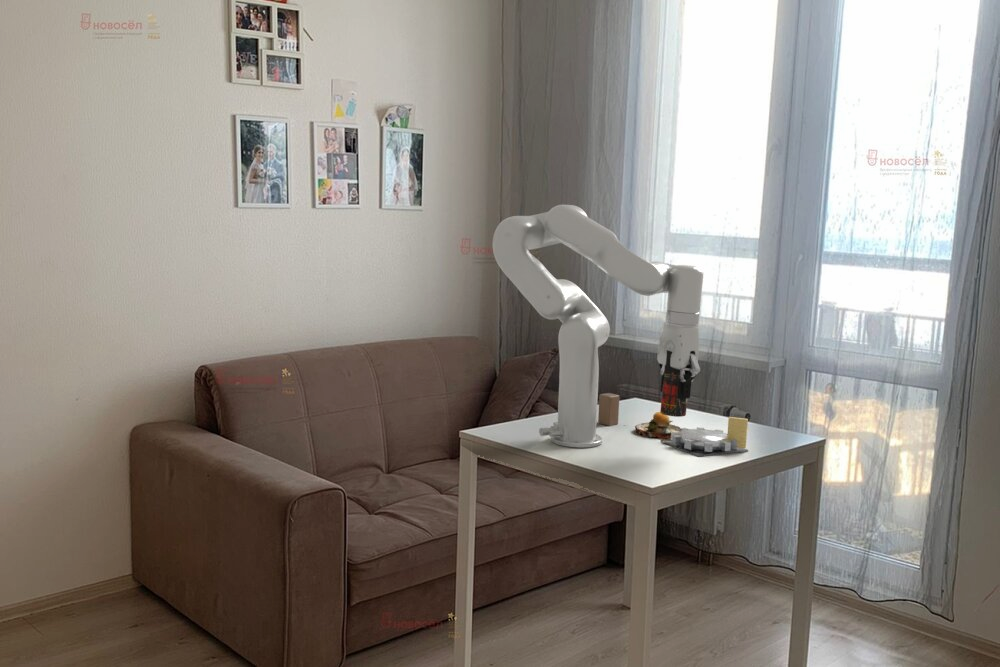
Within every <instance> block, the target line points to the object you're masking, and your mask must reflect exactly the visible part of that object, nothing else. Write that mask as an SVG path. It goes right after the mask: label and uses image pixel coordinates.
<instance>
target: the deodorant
mask: <svg viewBox="0 0 1000 667" xmlns="http://www.w3.org/2000/svg"><path fill="white" fill-rule="evenodd" d="M671 354H672V352H671V351H668V350H667V354H666V355H667V357H666V365H665V369H664V379H663V390H662V392H661V401H660V403H661V404H660V411H659V412H660V413H662V414H664V415H667V416H668V417H679V418H680V417H682V418H683V417H686V415H687V406H688V398H686V399H679V398H677V394H678V384H679V381H681V378H680V370H678V369H674V368H672V367H671V366H670V360H671ZM685 368H689V366H686V367H685ZM687 373H688V371H685V375H686V374H687Z"/></svg>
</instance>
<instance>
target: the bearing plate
mask: <svg viewBox="0 0 1000 667" xmlns="http://www.w3.org/2000/svg"><path fill="white" fill-rule="evenodd" d="M660 442H661V443H664V444H665V445H669V446H671V447H673V448H676V449H678V450H681V451H682V452H685V453H688V454H690V455H692V456H695V457H697V458H701V457H709V456H718V455H719V456H720V455H727V454H728V455H729V454H738V453H745V452H746V453H748V452H749V449H747V448H739V447H737V448H730V451H722V450H712V452H705V451H704V450H701V449H691V450H690V449H685V448H684V446H683V445H674V444H673V443H672V440H671V439H669V438H665V439H660Z"/></svg>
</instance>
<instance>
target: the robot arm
mask: <svg viewBox="0 0 1000 667" xmlns="http://www.w3.org/2000/svg"><path fill="white" fill-rule="evenodd" d="M558 244H563V245H564V246H566V247H568V248H570V249H571V250H572V251H574V252H575V253H577V254H580V255H581V256H582V257H583V258H585V259H587V260H588V261H591V263H593V264H594V265H596V266H597V268H599V269H600V270H602V271H603V272H605V273H606V274H607V275H608V276H610V277H611V278H612V279H614V280H615V281H617V282H619V284H622V285H623V286H625V287H626V288H628V289H630V290H631V291H633V292H635V293H637V294H639V295H641V296H649V297H650V296H655V295H656V294H657V295H659V294H667V293H668V294H667V302H666V304H667V305H666V314H665V321H664V322H663V325H662V327H661V328H662V329H661V332H660V337H659V342H658V348H657V356H656V360H657V362H658V365H659V369H660V375H661V381H660V390H659V391H660V392H661V393H662V390H663V379H664V369H665V365H666V357H667V355H666V354H667V350H668V351H671V352H672V354H671V360H670V366H671V367H672V368H674V369H678V370H680V378H681V381H679V384H678V394H677V398H679V399H686V398H687V399H690V398H691V390H692V382H694V379H695V378H696V377H697V375H698V374H699V373H700V372H701V367H700V364H699V361H698V360H699V353H700V352H699V350H700V332H699V331H700V330H699V322H700V312H701V301H702V292H703V282H704V270H703V269H702V268H701V267H699V266H695V265H687V264H684V265H683V264H677V265H676V264H671V263H665V262H662V261H648V260H646V259H644V258H643V257H641V256H639V255H638V254H636V253H635V252H634V251H633V252H632V251H631V250H630V249H628V248H627V247H626V246H624V245H623V244H622V243H621V242H620V241H619V239H618V237H617V235H616V234H615V233H614V232H613V231H612V230H611V229H609V228H607V227H605V226H604V225H601V224H600V223H598V222H597V221H595V220H594V219H592V218H590V217H589V216H588V215H587V213H586V212H585V211H584V209H582V208H581V207H579V206H577V205H574V204H558V205H555V206H553V207H551V208H550V210H549V211H546V212H545V211H544V212H541V213H538V214H533V215H513V216H509V217H507V218H504V219H503V220H501V221H500V222H499V224H498V225H497V227H496V228H495V231H494V233H493V236H492V251H493V256H494V259H495V261H496V263H497V265H498V266H499V268H500V270H501V271H502V272H503V273H504V275H505V276H506V278H508V279H509V280H510V281H511V283H513V285H514V286H515V287H516V289H517V290H518V291H519V292H520V293H521V295H522V296H523V297H524V298H525V299H526V300H527V301H528V302H529V303H530V305H531V306H532V307H533V308H534V309H535V311H536V312H537V313H538V314H539V315H540V316H541V317H543V318H544V319H547V320H557V319H558V320H559V321H560V322H561V323H562V324H561V325H560V328H559V332H558V339H557V341H558V352H559V354H558V355H559V376H558V378H559V381H558V382H559V384H558V402H557V405H558V406H557V421H556V422H553V425H551V426H550V427H540V428H539V430H538V433H539V435H540V436H541V437H543V436H545V437H546V436H549V437H550V441H551V442H552V443H553V444H555V445H559V446H563V447H568V448H592V447H594V448H595V447H598V446H600V445H601V444H602V443H603V438H602V437H601V435H599V434H597V421H598V419H597V418H598V417H597V416H598V399H599V398H598V397H599V396H598V394H599V377H600V376H599V373H600V372H599V371H600V368H599V367H600V366H599V351H598V350H599V349H598V348H600V347H601V346H603V345H604V344H605V343H606V342H607V341H608V339H609V336H610V332H611V329H610V328H611V327H610V323H609V321H608V319H607V317H606V316H605V315H604V314H603V312H602V311H601V309H600V308H598V306H597V305H596V304H595V303H594V302H593V301H592V300H591V299H590V298H589V296H587V294H586V293H585V292H584V291H583V290H582V289H581V288H580V287H579V286H578V285H577V284H576V283H574V282H573V281H570V280H569V279H563V278H560V279H559V278H558V279H557V278H556V277H554V275H553V274H552V273H550V271H549V270H548V269H547V268H546V267H545V265H544V264H543V263H542V262H541V261H540V260H539V259H538V258H536V257H535V256H534V255H533V254H532V253H531V252H530V250H536V249H540V248H544V247H549V246H553V245H558ZM686 366H689V368H685V367H686ZM685 371H688V373H687V374H686V375H685Z"/></svg>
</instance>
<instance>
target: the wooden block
mask: <svg viewBox="0 0 1000 667" xmlns="http://www.w3.org/2000/svg"><path fill="white" fill-rule="evenodd" d="M598 397H599V398H598V399H599V400H598V413H597V416H598V417H597V418H598V419H597V422H598V424H600V425H604V426H607V427H609V426H617V425H618V424H619V413H620V412H619V411H620V395H619V394H615V393H612V392H607V393H600V394H599V396H598Z"/></svg>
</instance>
